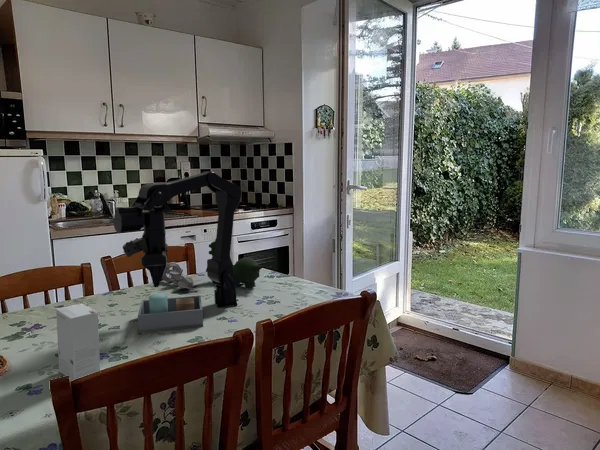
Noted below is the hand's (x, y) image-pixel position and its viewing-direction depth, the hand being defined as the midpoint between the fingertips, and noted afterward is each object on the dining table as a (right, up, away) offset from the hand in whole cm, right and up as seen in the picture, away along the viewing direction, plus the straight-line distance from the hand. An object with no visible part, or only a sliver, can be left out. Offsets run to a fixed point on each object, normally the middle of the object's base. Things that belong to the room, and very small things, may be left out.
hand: (157, 282), depth 124 cm
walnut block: (+7, -11, +4) cm, 13 cm away
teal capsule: (0, -11, +2) cm, 11 cm away
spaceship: (-9, -6, +43) cm, 44 cm away
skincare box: (-8, -17, -28) cm, 33 cm away
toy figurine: (+17, -7, +39) cm, 43 cm away
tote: (+3, -12, +3) cm, 12 cm away
